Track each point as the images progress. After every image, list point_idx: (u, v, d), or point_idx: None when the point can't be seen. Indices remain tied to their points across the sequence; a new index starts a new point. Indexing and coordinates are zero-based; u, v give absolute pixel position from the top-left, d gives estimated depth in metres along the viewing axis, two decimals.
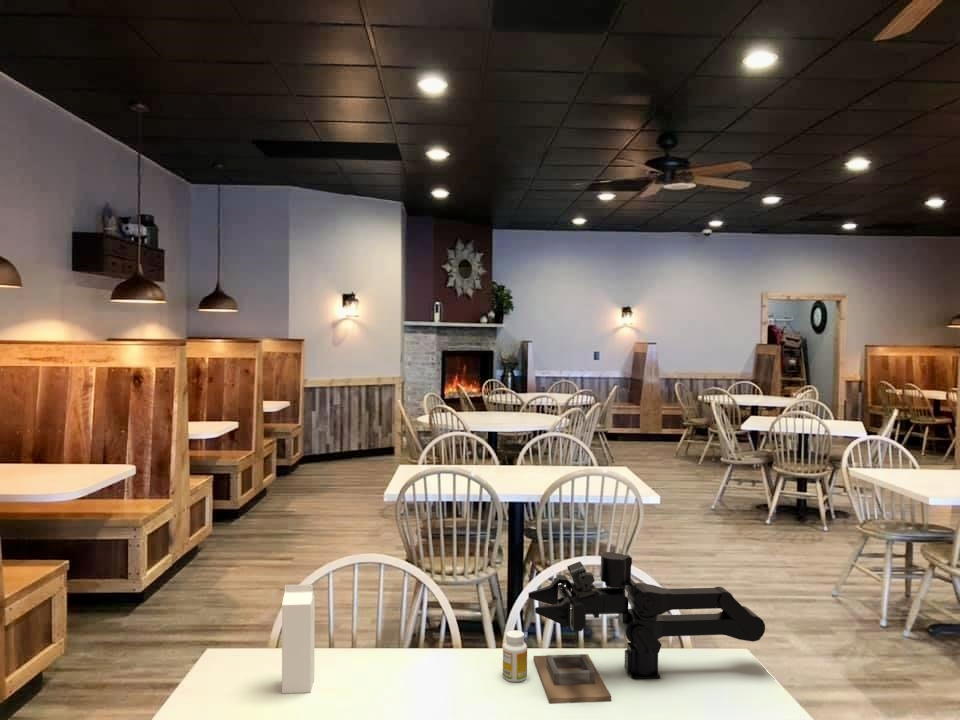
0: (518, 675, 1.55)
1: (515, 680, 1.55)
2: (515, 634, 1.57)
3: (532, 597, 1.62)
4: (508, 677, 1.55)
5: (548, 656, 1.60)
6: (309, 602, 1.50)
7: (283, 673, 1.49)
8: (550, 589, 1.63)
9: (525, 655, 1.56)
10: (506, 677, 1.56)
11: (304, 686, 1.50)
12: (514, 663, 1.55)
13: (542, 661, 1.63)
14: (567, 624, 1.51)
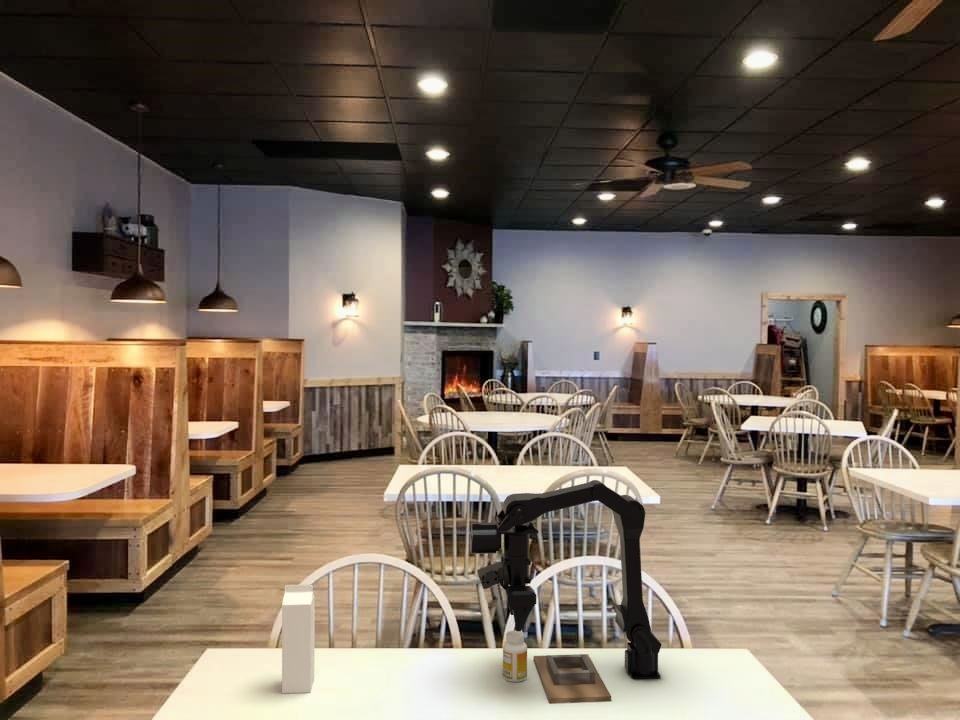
0: (518, 675, 1.55)
1: (515, 680, 1.55)
2: (515, 634, 1.57)
3: None
4: (508, 677, 1.55)
5: (548, 656, 1.60)
6: (309, 602, 1.50)
7: (283, 673, 1.49)
8: None
9: (525, 655, 1.56)
10: (506, 677, 1.56)
11: (304, 686, 1.50)
12: (514, 663, 1.55)
13: (542, 661, 1.63)
14: None
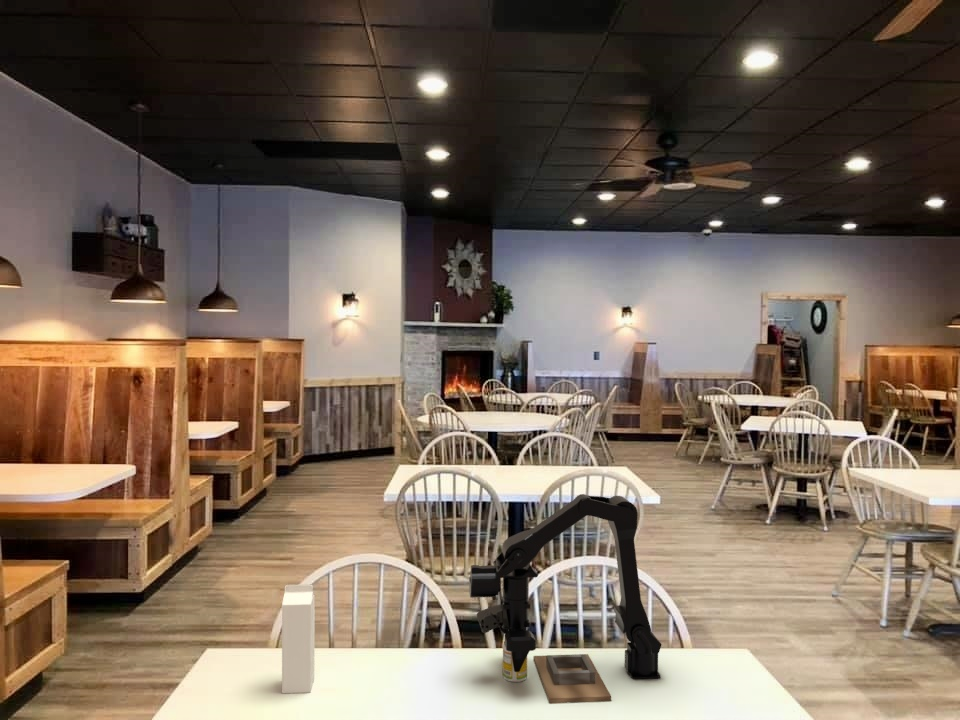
0: (518, 675, 1.55)
1: (515, 680, 1.55)
2: None
3: None
4: (508, 677, 1.55)
5: (548, 656, 1.60)
6: (309, 602, 1.50)
7: (283, 673, 1.49)
8: None
9: None
10: (506, 677, 1.56)
11: (304, 686, 1.50)
12: None
13: (542, 661, 1.63)
14: None
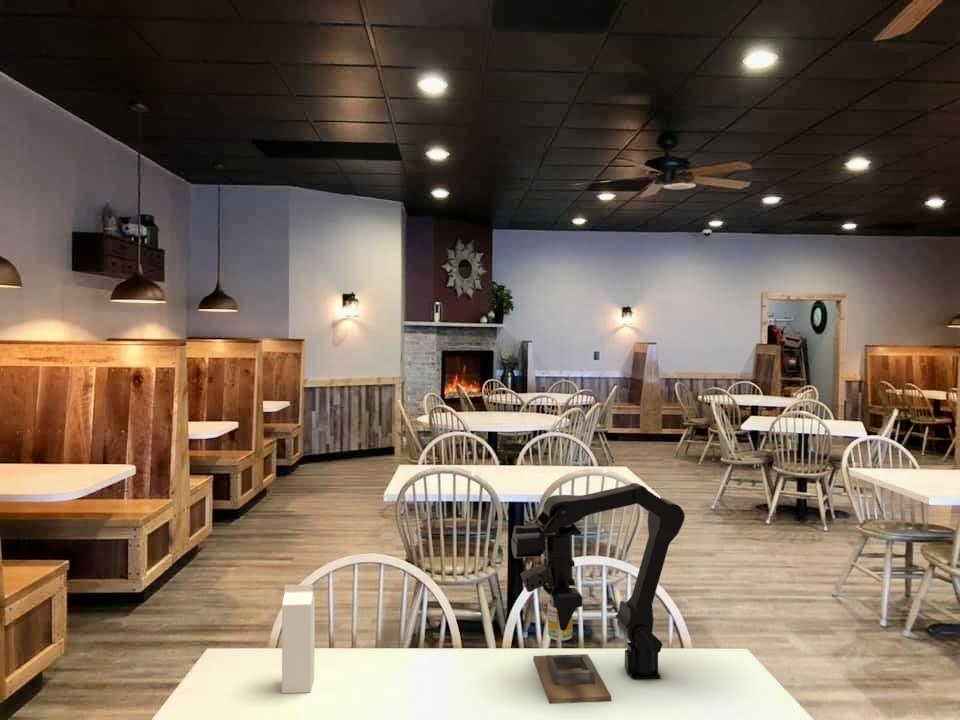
0: (564, 633, 1.54)
1: (561, 638, 1.54)
2: None
3: None
4: (554, 636, 1.55)
5: (548, 656, 1.60)
6: (309, 602, 1.50)
7: (283, 673, 1.49)
8: None
9: None
10: (551, 636, 1.55)
11: (304, 686, 1.50)
12: None
13: (542, 661, 1.63)
14: None
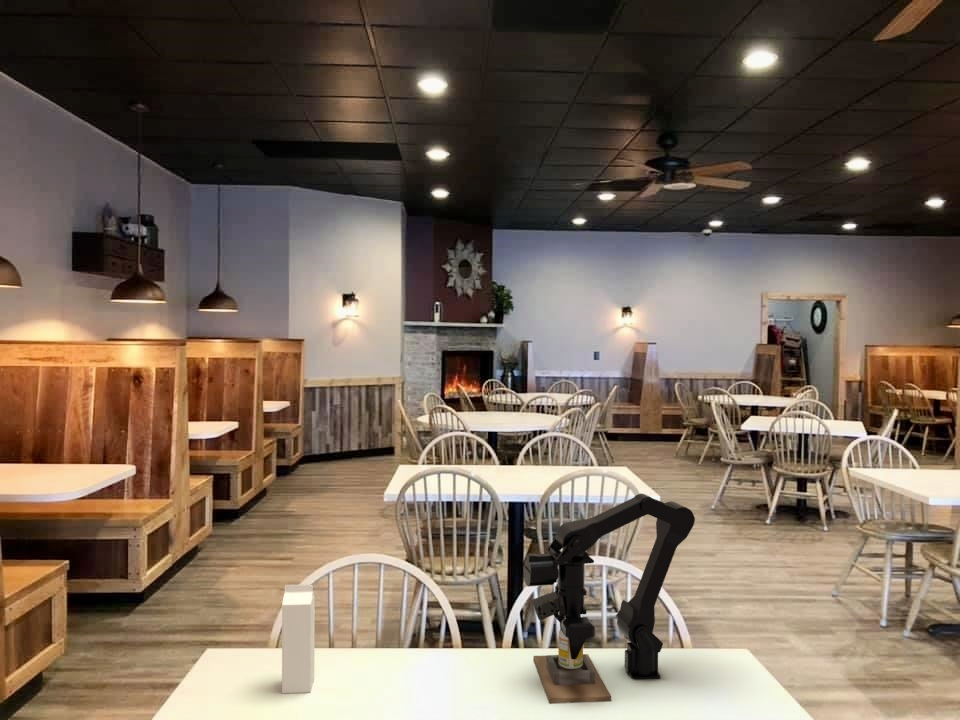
0: (575, 662, 1.54)
1: (572, 667, 1.54)
2: None
3: None
4: (565, 664, 1.54)
5: (548, 656, 1.60)
6: (309, 602, 1.50)
7: (283, 673, 1.49)
8: None
9: None
10: (562, 664, 1.55)
11: (304, 686, 1.50)
12: None
13: (542, 661, 1.63)
14: None
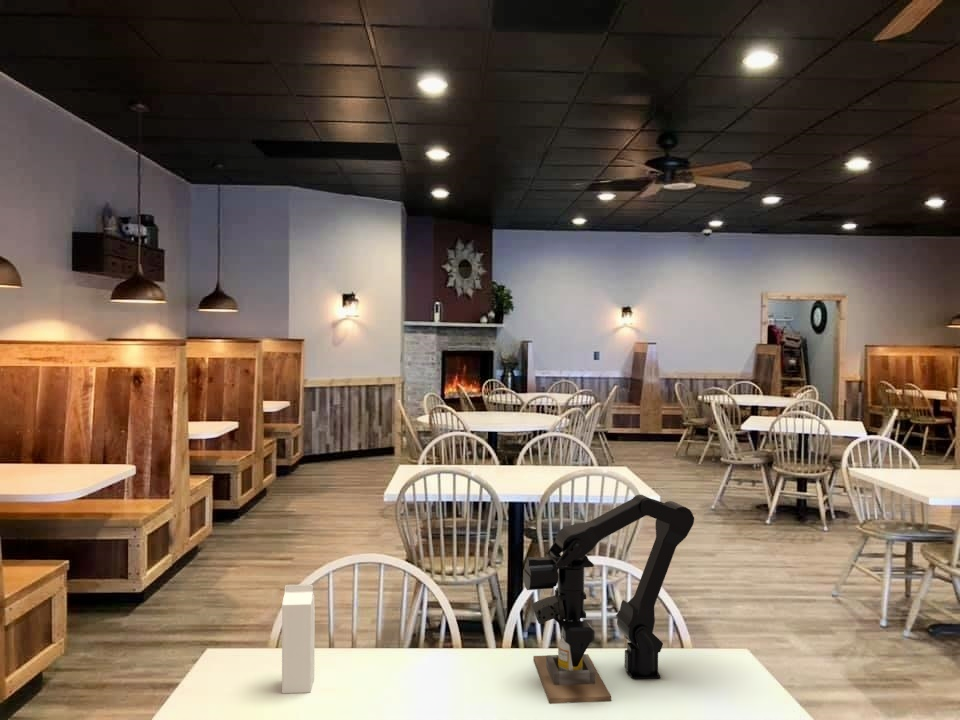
0: None
1: None
2: None
3: None
4: None
5: (548, 656, 1.60)
6: (309, 602, 1.50)
7: (283, 673, 1.49)
8: (561, 625, 1.61)
9: None
10: None
11: (304, 686, 1.50)
12: (570, 660, 1.54)
13: (542, 661, 1.63)
14: None
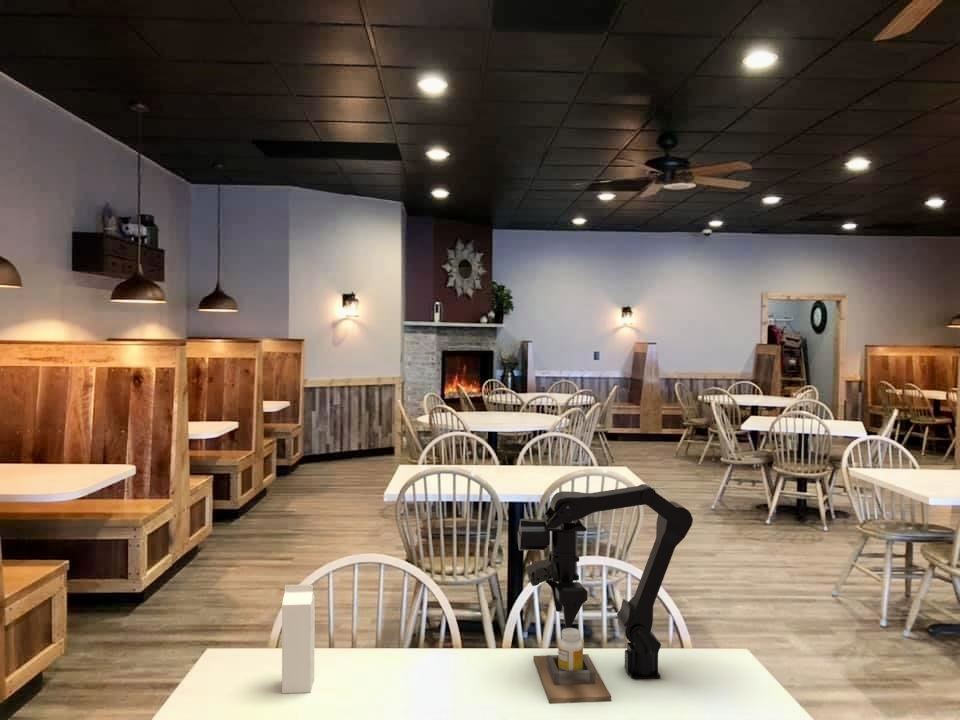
0: None
1: None
2: (571, 632, 1.56)
3: (560, 607, 1.63)
4: None
5: (548, 656, 1.60)
6: (309, 602, 1.50)
7: (283, 673, 1.49)
8: (554, 589, 1.63)
9: (581, 653, 1.55)
10: None
11: (304, 686, 1.50)
12: (570, 660, 1.54)
13: (542, 661, 1.63)
14: None
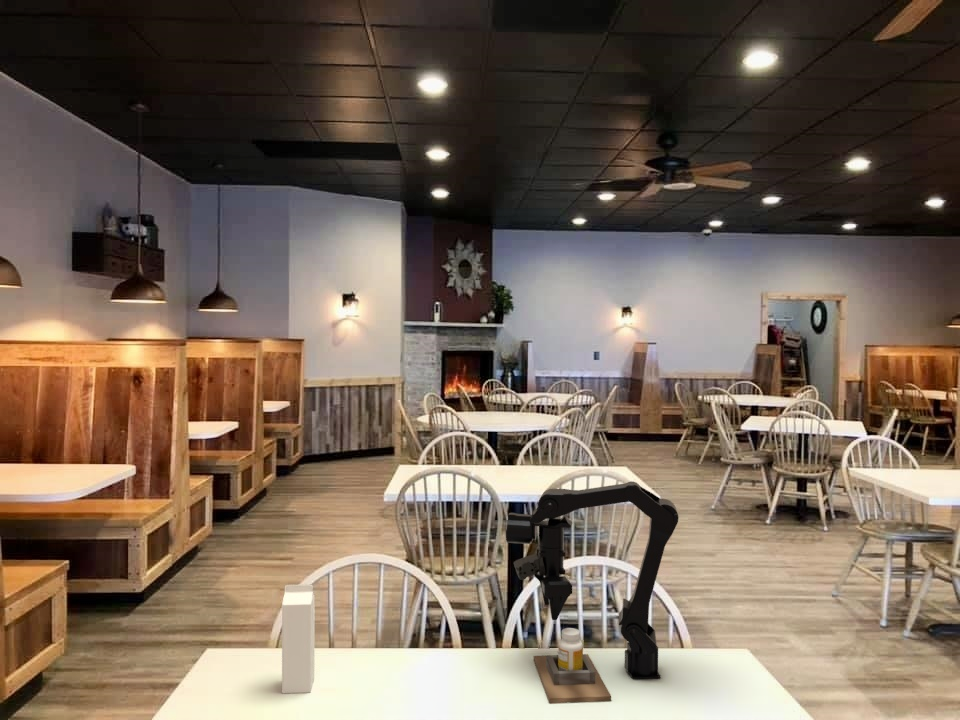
0: None
1: None
2: (571, 631, 1.56)
3: (548, 601, 1.68)
4: None
5: (548, 656, 1.60)
6: (309, 602, 1.50)
7: (283, 673, 1.49)
8: (542, 583, 1.69)
9: (581, 653, 1.55)
10: None
11: (304, 686, 1.50)
12: (570, 660, 1.54)
13: (542, 661, 1.63)
14: None
